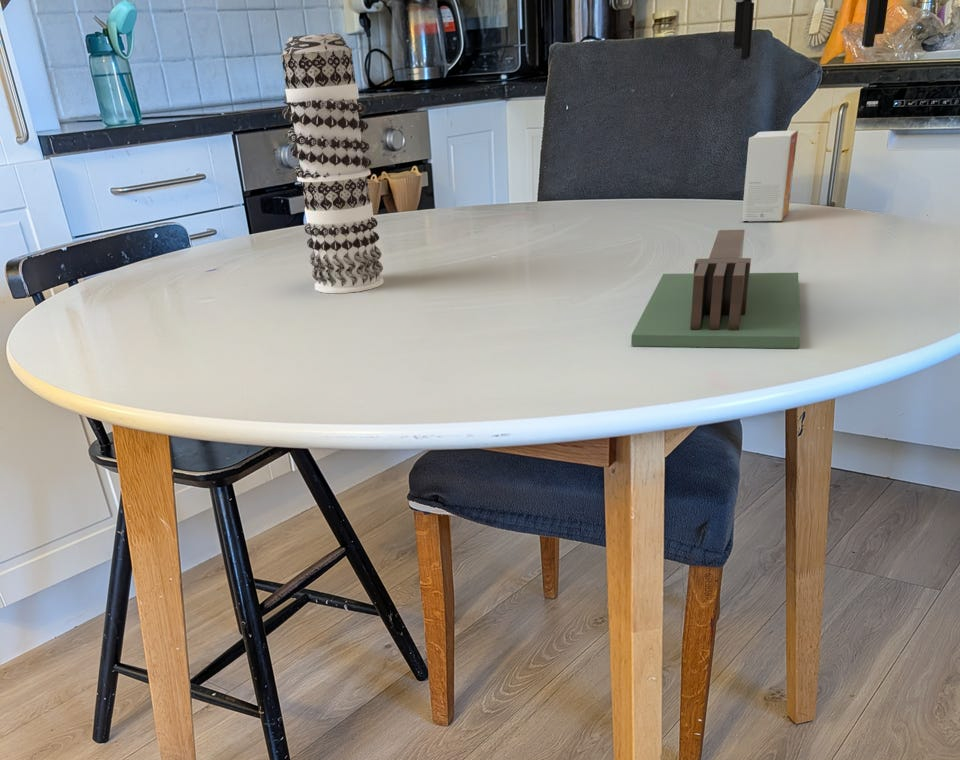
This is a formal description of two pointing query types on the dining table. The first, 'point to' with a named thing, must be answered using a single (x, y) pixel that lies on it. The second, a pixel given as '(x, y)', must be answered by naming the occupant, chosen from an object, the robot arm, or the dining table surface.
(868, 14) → the robot arm
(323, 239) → the decorative candle
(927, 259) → the dining table surface
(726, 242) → the fork
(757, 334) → the mat
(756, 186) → the small box
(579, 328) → the dining table surface
